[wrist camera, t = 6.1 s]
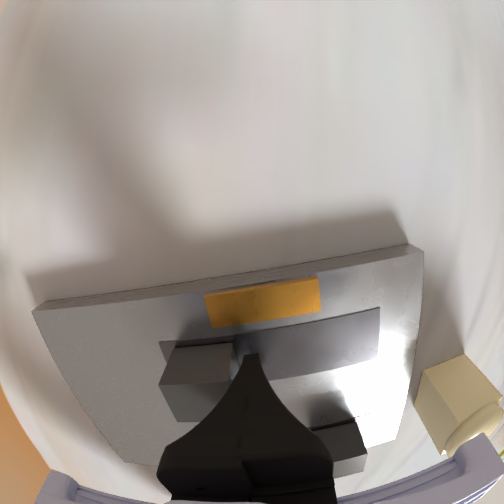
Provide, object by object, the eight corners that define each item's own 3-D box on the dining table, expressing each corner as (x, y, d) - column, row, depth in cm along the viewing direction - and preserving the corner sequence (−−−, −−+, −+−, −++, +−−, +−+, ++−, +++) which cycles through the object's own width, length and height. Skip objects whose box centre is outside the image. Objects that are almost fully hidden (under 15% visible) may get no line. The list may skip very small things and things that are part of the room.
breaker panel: (389, 425, 17) (395, 440, 16) (129, 449, 19) (124, 463, 17) (409, 243, 13) (426, 252, 12) (44, 301, 14) (29, 313, 13)
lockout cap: (454, 391, 17) (489, 439, 11) (409, 409, 17) (439, 467, 11) (467, 348, 15) (513, 398, 9) (419, 368, 16) (461, 429, 10)
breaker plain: (354, 441, 15) (363, 471, 13) (312, 450, 16) (317, 481, 13) (356, 421, 15) (367, 453, 12) (310, 431, 15) (316, 465, 12)
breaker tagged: (242, 380, 14) (240, 420, 11) (187, 384, 14) (177, 422, 11) (232, 342, 13) (227, 381, 10) (173, 348, 13) (157, 385, 10)
